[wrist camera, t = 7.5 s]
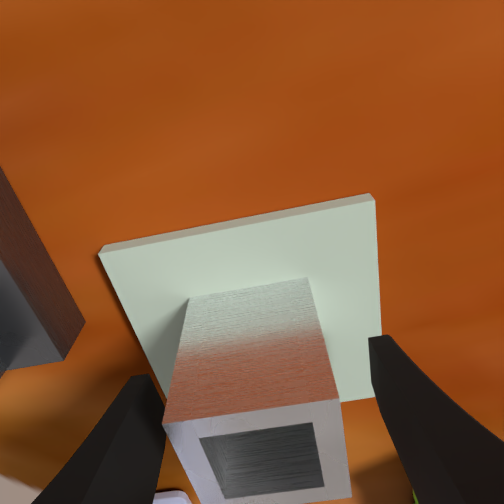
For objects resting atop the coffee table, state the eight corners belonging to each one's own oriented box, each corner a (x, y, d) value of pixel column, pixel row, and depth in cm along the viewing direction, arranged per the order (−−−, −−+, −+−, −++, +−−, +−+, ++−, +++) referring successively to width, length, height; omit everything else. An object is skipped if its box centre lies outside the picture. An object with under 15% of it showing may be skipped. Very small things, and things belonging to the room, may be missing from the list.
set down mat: (380, 384, 16) (384, 395, 16) (181, 414, 17) (179, 426, 17) (369, 193, 12) (374, 199, 12) (104, 245, 13) (97, 253, 12)
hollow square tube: (326, 397, 16) (356, 532, 12) (229, 411, 16) (223, 547, 12) (307, 277, 13) (339, 397, 9) (189, 297, 13) (161, 424, 9)
